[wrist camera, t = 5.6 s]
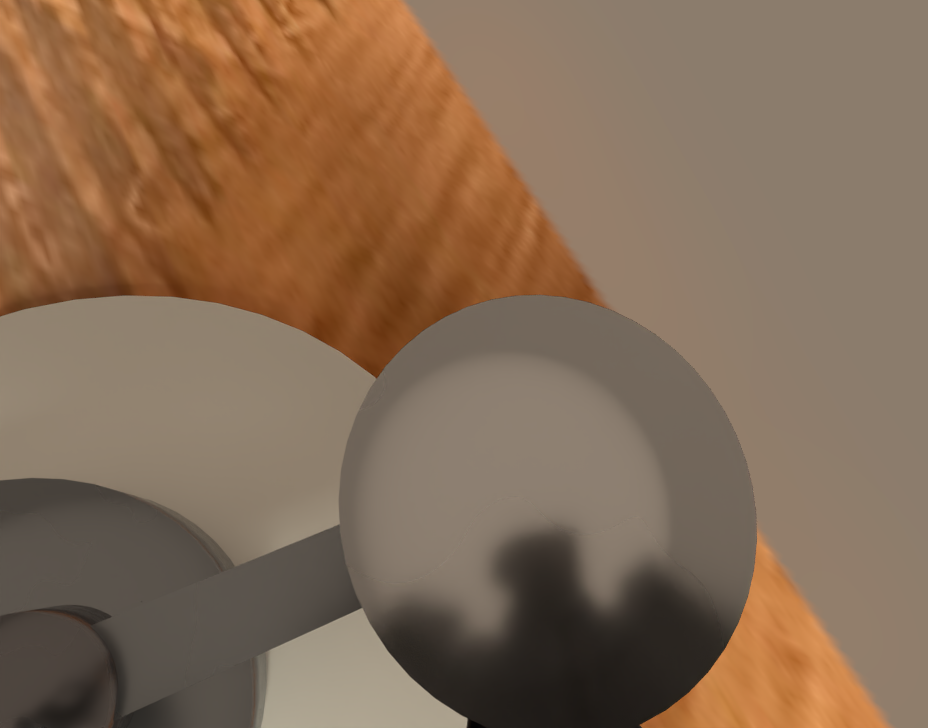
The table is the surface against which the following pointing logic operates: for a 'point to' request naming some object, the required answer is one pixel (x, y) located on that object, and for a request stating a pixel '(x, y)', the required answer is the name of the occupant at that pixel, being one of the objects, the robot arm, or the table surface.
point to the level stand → (211, 459)
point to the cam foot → (420, 546)
